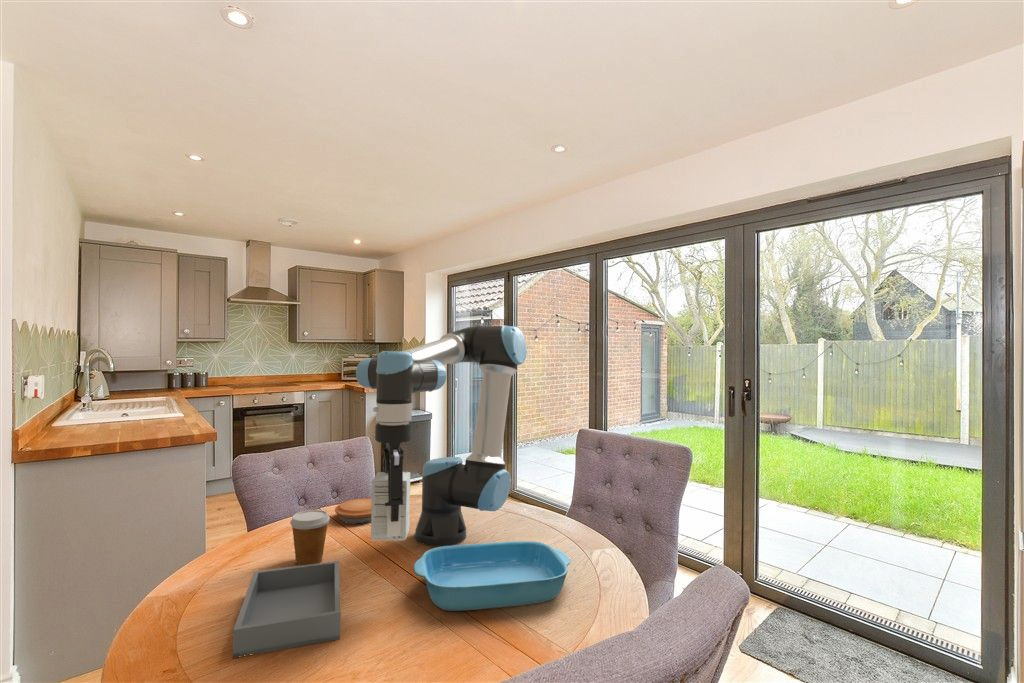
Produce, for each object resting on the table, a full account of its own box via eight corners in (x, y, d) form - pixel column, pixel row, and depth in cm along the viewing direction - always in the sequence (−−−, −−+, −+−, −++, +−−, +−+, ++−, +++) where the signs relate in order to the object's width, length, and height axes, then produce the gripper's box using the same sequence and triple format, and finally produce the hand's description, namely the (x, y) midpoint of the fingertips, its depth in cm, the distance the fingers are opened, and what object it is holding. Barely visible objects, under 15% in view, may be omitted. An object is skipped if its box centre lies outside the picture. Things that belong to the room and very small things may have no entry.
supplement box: (376, 528, 106) (377, 471, 107) (410, 528, 107) (411, 471, 107) (369, 541, 99) (371, 480, 99) (405, 541, 99) (407, 479, 100)
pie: (355, 530, 147) (356, 514, 147) (324, 519, 155) (324, 504, 155) (393, 516, 160) (393, 501, 160) (362, 507, 168) (363, 493, 168)
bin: (338, 581, 114) (339, 560, 114) (339, 639, 91) (340, 612, 92) (253, 593, 108) (254, 571, 108) (232, 658, 85) (233, 630, 85)
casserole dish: (551, 562, 127) (552, 535, 128) (585, 606, 106) (585, 573, 106) (410, 575, 118) (411, 546, 118) (415, 626, 97) (416, 590, 97)
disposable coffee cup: (314, 571, 119) (315, 523, 119) (280, 567, 121) (282, 519, 121) (336, 555, 128) (337, 510, 129) (304, 552, 130) (305, 507, 130)
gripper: (371, 416, 112) (369, 514, 111) (380, 431, 92) (377, 549, 92) (404, 415, 115) (402, 510, 114) (419, 429, 95) (416, 544, 94)
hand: (391, 528), depth 103 cm, fingers closed on supplement box, 8 cm apart
